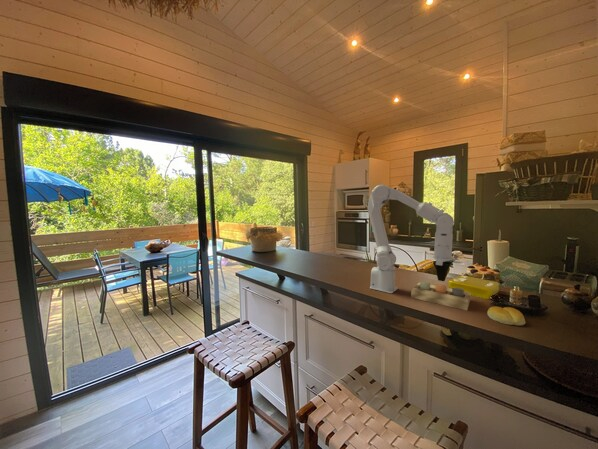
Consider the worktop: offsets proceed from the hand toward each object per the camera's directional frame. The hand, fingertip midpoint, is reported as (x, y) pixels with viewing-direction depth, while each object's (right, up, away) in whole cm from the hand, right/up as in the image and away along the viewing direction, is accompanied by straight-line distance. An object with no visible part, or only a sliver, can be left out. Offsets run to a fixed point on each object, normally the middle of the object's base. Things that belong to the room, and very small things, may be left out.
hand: (441, 280), depth 93 cm
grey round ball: (+4, -6, -3) cm, 8 cm away
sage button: (-4, -5, +4) cm, 8 cm away
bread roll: (+11, -9, -16) cm, 21 cm away
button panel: (0, -7, +1) cm, 7 cm away
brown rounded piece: (0, -6, 0) cm, 6 cm away
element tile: (+20, -7, +10) cm, 23 cm away
